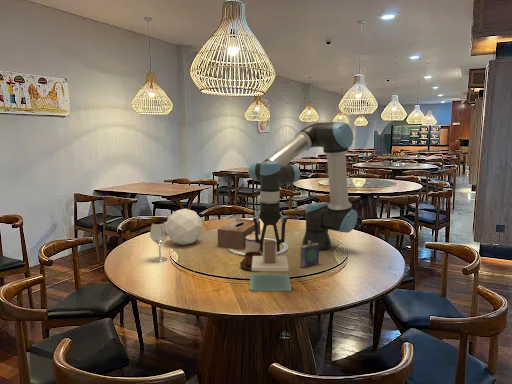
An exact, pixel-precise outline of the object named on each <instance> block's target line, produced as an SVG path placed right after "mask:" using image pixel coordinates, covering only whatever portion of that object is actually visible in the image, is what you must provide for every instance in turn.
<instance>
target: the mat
mask: <svg viewBox="0 0 512 384" xmlns="http://www.w3.org/2000/svg"><path fill="white" fill-rule="evenodd" d="M249 278H250V280H249V289H248V290H249V292H267V291H268V292H292V285H291V279H290V278H291V277H290V274H289V273H251V274H250V277H249Z"/></svg>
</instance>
